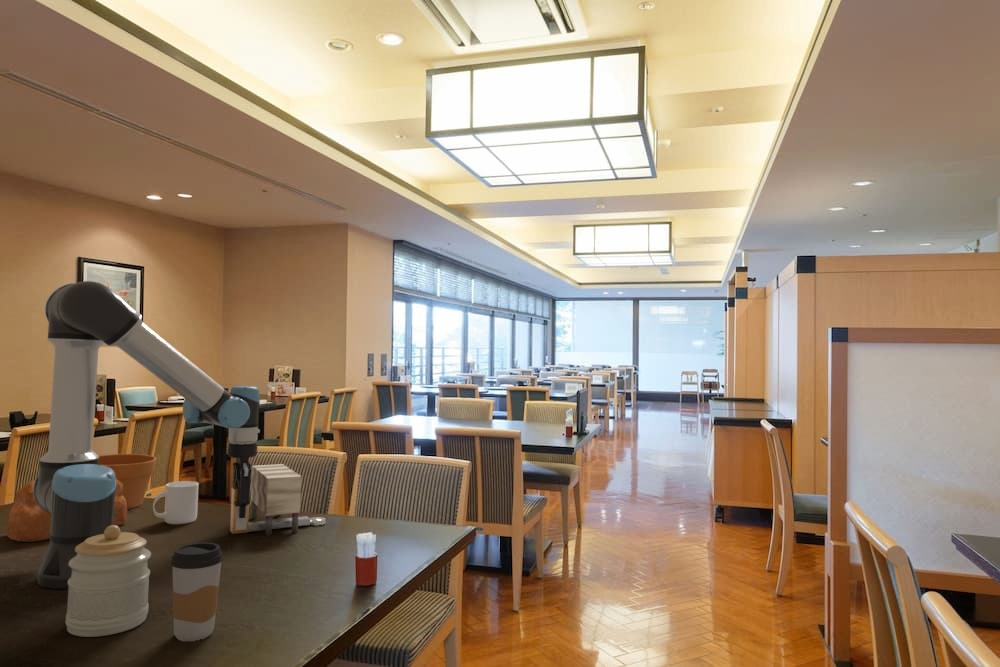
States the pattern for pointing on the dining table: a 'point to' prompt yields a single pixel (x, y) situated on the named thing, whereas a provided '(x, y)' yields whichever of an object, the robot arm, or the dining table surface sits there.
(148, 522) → the dining table surface
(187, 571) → the coffee cup
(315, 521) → the token
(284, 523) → the grey l-shaped rod
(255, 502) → the cabinet
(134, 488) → the flower pot
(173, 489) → the mug
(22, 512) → the bread
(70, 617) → the jar
